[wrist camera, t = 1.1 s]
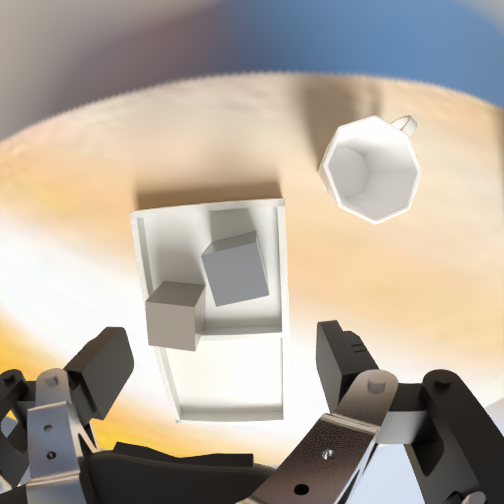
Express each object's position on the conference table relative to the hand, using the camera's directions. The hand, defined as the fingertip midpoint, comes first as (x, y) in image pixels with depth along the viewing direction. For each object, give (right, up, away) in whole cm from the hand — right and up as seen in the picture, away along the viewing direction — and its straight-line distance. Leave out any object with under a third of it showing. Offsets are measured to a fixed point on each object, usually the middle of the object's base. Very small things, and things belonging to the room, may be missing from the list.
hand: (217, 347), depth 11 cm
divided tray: (-2, -4, +16) cm, 17 cm away
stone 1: (-5, -1, +15) cm, 16 cm away
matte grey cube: (0, +3, +14) cm, 15 cm away
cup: (+10, +12, +13) cm, 20 cm away
